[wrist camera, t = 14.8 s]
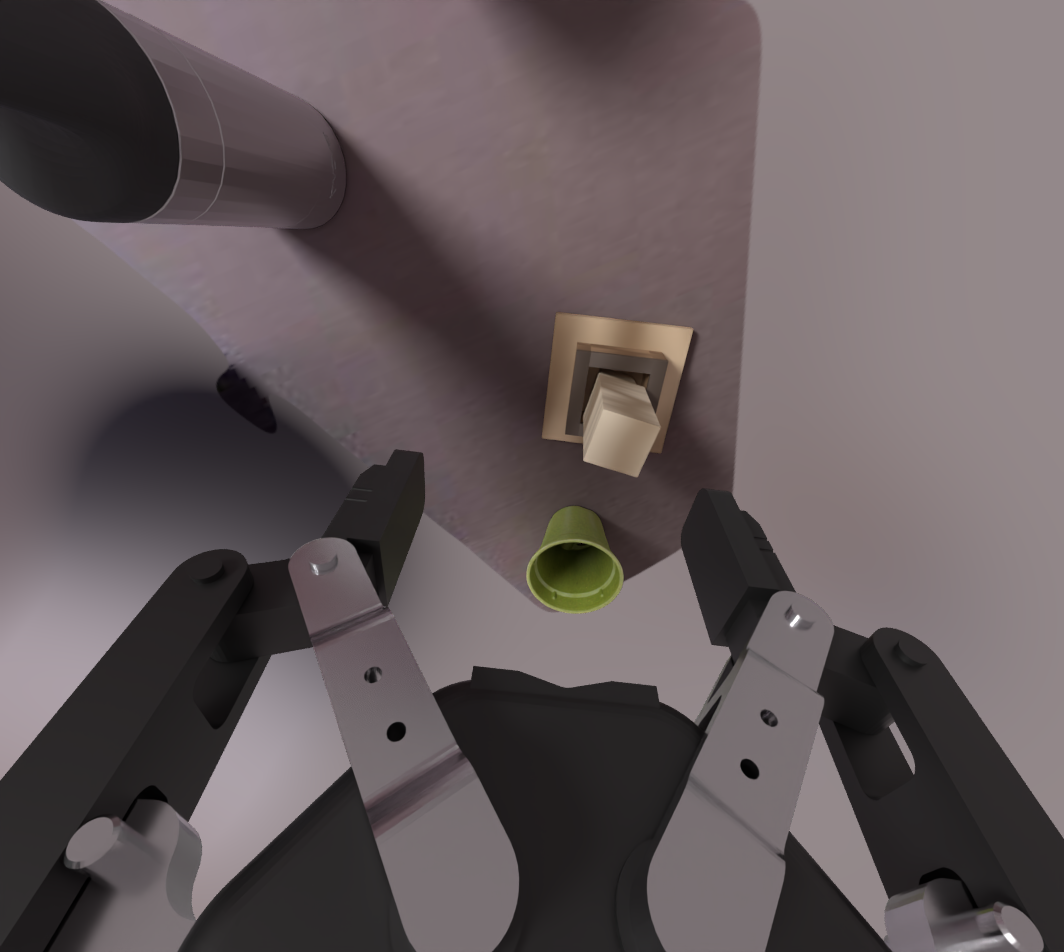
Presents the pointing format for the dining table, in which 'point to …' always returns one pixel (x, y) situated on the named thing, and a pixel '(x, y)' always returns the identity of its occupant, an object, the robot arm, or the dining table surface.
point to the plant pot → (575, 564)
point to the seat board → (611, 368)
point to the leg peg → (618, 423)
